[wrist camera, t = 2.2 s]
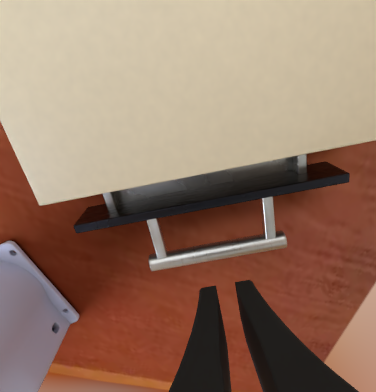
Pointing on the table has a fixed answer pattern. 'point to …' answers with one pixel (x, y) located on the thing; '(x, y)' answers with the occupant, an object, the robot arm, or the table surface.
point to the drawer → (212, 205)
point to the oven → (179, 87)
